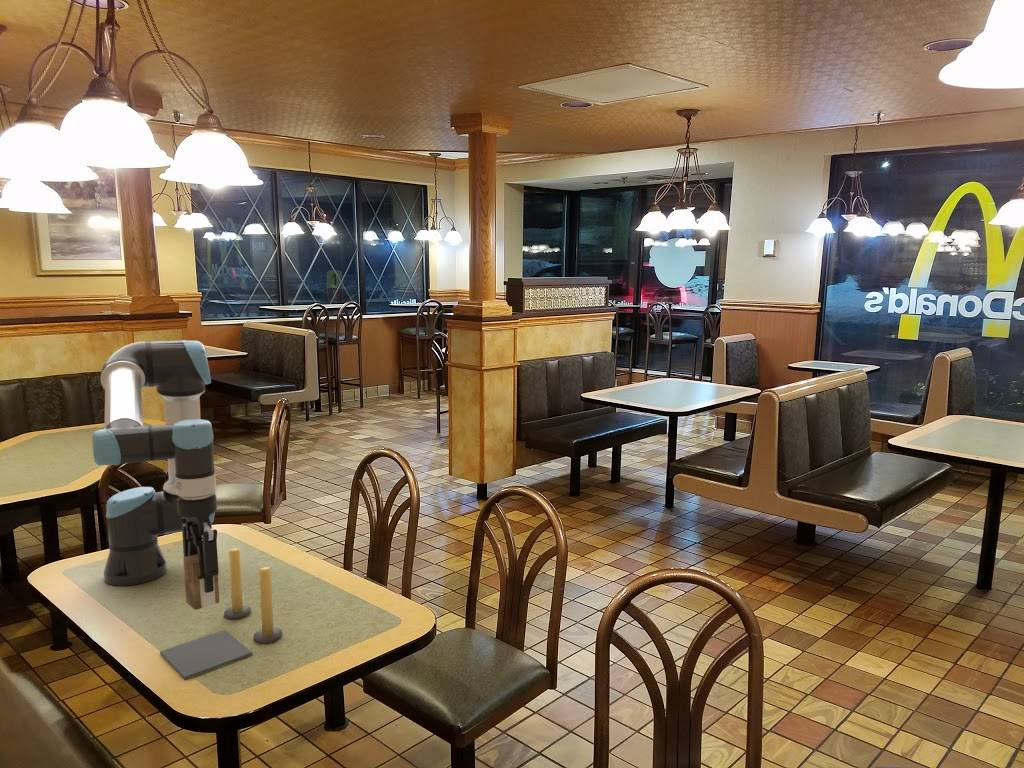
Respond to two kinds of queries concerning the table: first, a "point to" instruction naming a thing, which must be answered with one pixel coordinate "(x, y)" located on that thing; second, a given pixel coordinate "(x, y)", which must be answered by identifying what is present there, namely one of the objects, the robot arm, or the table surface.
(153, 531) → the robot arm
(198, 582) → the block
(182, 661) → the mat
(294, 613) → the table surface
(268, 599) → the gate
